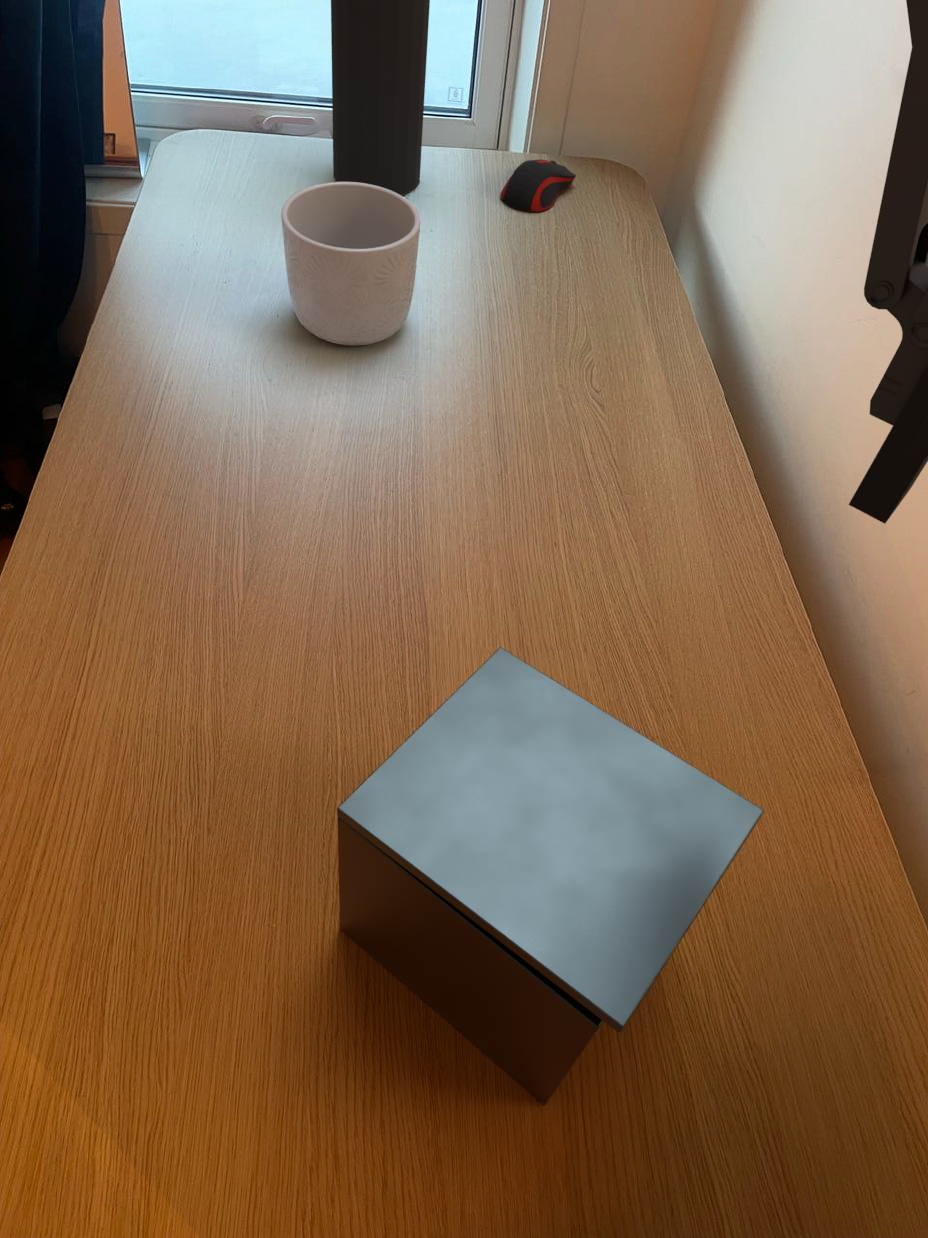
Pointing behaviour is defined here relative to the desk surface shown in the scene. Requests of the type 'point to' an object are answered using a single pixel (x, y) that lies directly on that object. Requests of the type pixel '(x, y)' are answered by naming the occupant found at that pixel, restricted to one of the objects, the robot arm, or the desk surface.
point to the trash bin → (460, 969)
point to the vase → (378, 91)
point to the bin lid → (555, 830)
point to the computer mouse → (536, 185)
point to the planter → (350, 260)
